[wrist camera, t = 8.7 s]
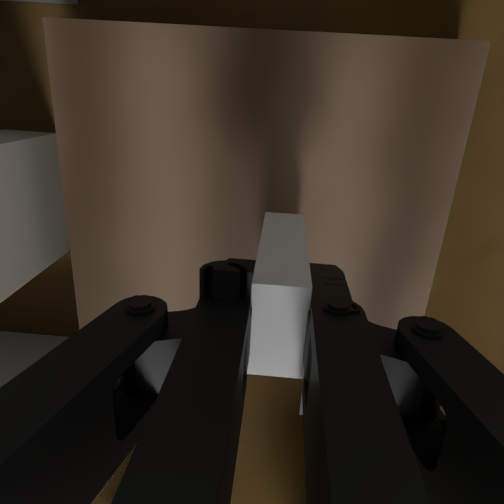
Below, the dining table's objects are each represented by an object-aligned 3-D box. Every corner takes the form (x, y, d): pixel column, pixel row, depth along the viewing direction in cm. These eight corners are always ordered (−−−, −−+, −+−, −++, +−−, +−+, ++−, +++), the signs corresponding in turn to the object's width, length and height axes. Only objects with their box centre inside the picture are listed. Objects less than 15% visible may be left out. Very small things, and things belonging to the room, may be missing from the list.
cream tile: (-34, 150, 14) (-104, 145, 14) (-3, 305, 16) (-65, 300, 16) (57, 132, 19) (6, 129, 20) (70, 250, 22) (24, 246, 22)
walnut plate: (457, 49, 17) (491, 40, 14) (391, 351, 23) (406, 388, 20) (80, 28, 18) (42, 16, 15) (106, 326, 23) (82, 358, 20)
